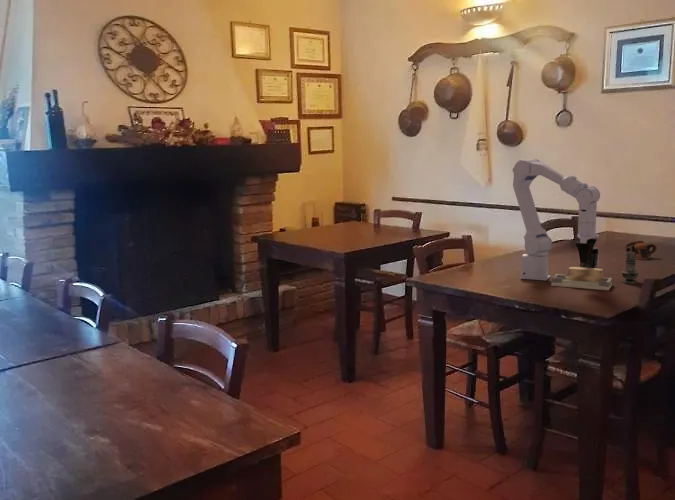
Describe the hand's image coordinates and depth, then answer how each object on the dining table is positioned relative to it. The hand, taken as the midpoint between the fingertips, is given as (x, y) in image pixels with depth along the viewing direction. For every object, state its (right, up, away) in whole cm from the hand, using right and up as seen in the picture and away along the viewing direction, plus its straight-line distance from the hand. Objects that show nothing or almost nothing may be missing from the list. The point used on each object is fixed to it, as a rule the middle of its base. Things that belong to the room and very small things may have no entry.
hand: (585, 260), depth 235 cm
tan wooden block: (0, -8, +1) cm, 8 cm away
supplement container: (+8, -6, +19) cm, 21 cm away
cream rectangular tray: (-1, -9, +2) cm, 9 cm away
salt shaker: (+18, -8, +6) cm, 20 cm away
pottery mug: (+42, 0, +50) cm, 65 cm away
